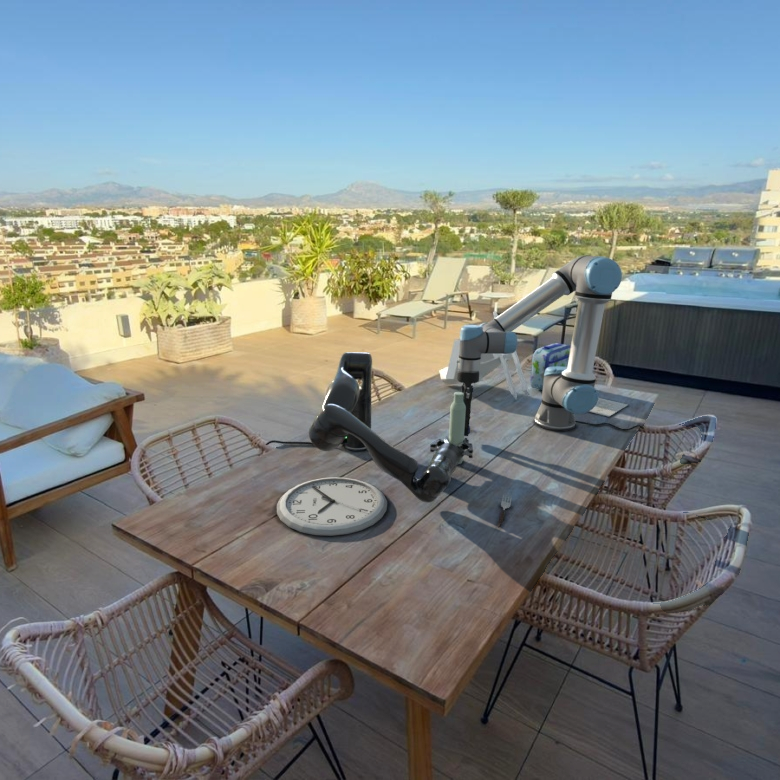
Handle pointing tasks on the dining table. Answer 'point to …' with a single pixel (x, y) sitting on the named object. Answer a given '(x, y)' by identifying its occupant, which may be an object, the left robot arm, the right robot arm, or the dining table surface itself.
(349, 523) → the wall clock
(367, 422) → the left robot arm
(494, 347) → the right robot arm
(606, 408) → the invitation card
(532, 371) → the lunch box
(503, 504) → the fork
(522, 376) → the white plastic object
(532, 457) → the dining table surface
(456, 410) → the bottle
